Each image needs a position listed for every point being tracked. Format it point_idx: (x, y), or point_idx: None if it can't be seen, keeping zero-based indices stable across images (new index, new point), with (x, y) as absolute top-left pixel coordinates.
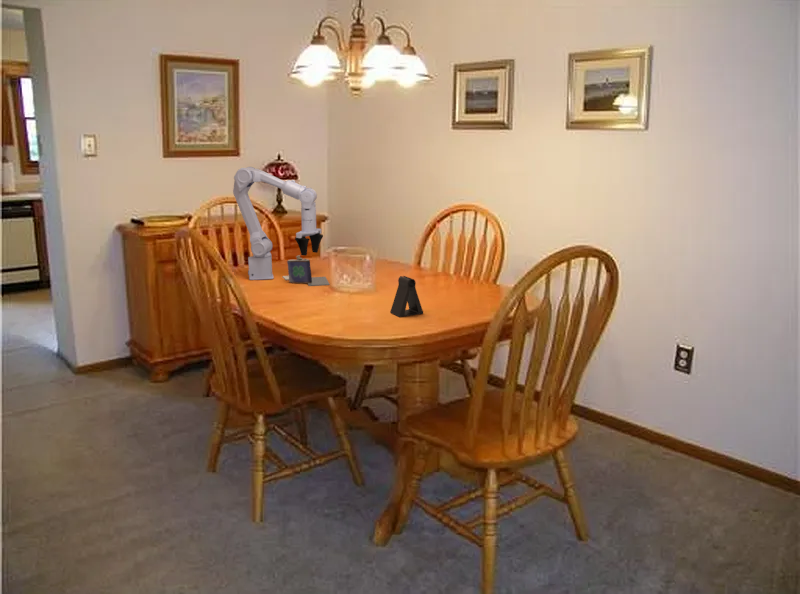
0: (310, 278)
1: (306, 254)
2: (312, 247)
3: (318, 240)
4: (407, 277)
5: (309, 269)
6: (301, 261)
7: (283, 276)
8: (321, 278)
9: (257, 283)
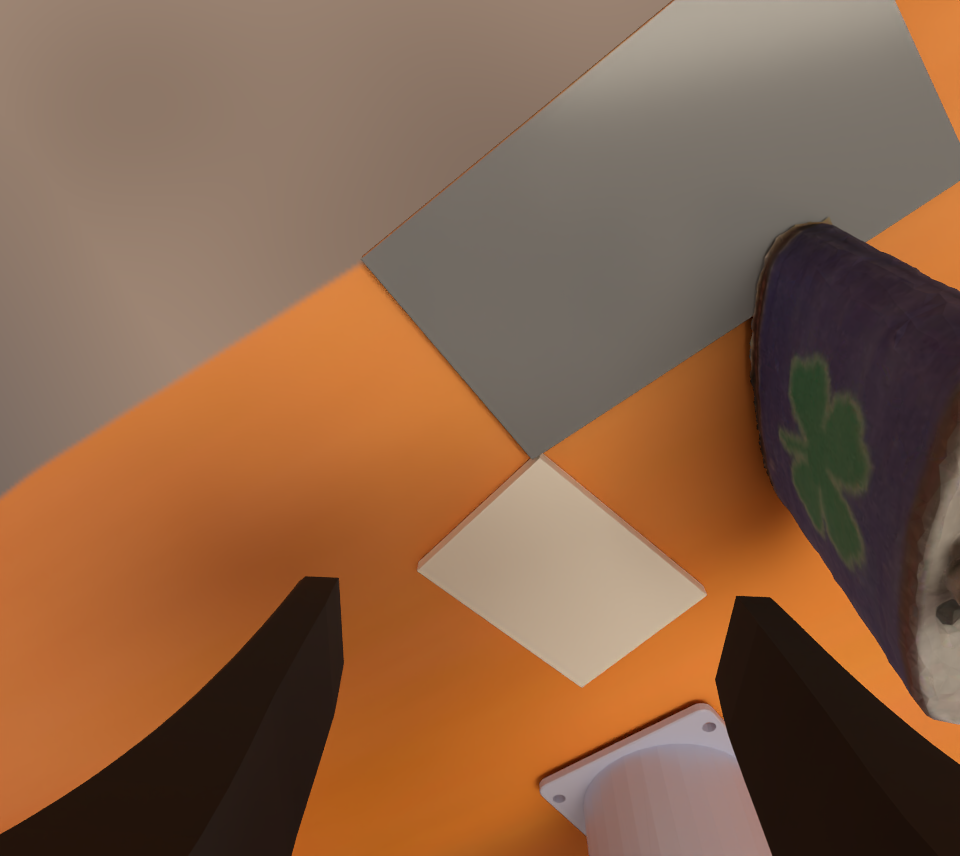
0: (855, 239)
1: (758, 605)
2: (317, 750)
3: (227, 804)
4: None
5: (944, 288)
6: None
7: (594, 670)
8: (494, 244)
9: (923, 722)
